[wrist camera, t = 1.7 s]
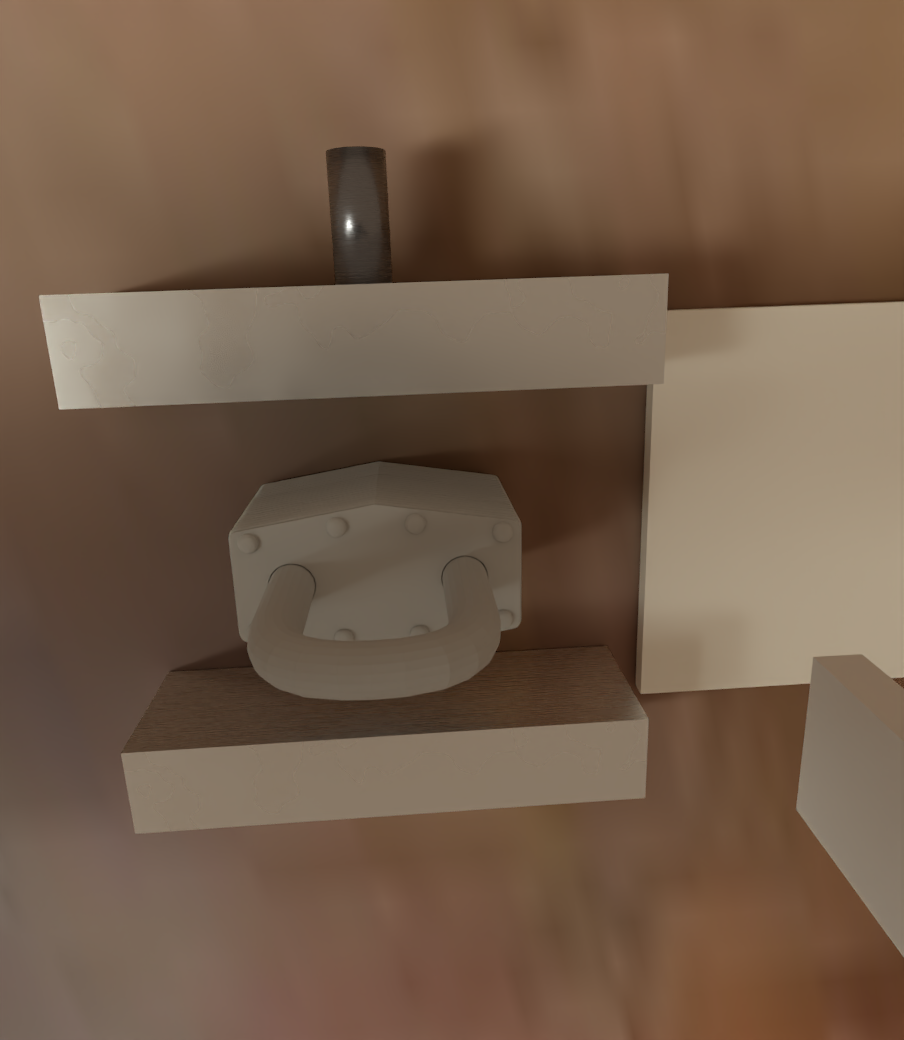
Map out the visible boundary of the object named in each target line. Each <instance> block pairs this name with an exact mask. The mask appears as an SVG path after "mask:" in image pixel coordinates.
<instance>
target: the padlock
mask: <svg viewBox="0 0 904 1040" xmlns="http://www.w3.org/2000/svg"><path fill="white" fill-rule="evenodd" d="M228 539H229V548H230V557H231V566H232V575H233V583H234V592H235V601H236V610H237V619H238V627H239V635H240V637H241V638H242V640H243V641H245V642H248V643H247V652H248V655H249V658H250V660H251V663H252V665H253V667H254V669H255V671H256V672H257V673H258V675H259V676H260V677H262V678H263V679H264V680H266V681H267V682H268V683H270V684H271V685H272V686H274V687H276V688H278V689H279V690H282V691H286V692H289V693H292V694H296V695H299V696H302V697H306V698H318V699H330V700H342V701H343V700H378V699H389V698H400V697H408V696H413V695H419V694H424V693H429V692H434V691H439V690H444V689H446V688H449V687H451V686H454V685H456V684H459V683H461V682H464V681H466V680H469V679H470V678H471V677H473V676H474V675H475V674H477V673H478V672H479V671H480V670H482V669H483V668H484V667H485V666H487V665H488V664H489V663H490V661H491V659H492V657H493V656H494V654H495V652H496V650H497V648H498V646H499V644H500V637H501V631H504V630H509V629H514V628H516V627H518V626H519V624H520V622H521V584H522V524H521V521H520V519H519V517H518V515H517V514H516V512H515V510H514V508H513V506H512V504H511V502H510V500H509V498H508V496H507V494H506V492H505V490H504V488H503V486H502V484H501V482H500V480H499V478H498V477H497V476H496V475H490V474H481V473H473V472H464V471H456V470H447V469H439V468H430V467H422V466H414V465H405V464H397V463H388V462H380V461H379V462H374V463H369V464H364V465H359V466H354V467H349V468H343V469H338V470H333V471H328V472H323V473H318V474H313V475H308V476H303V477H298V478H293V479H288V480H283V481H278V482H273V483H268V484H263V485H262V486H261V487H260V488H259V490H258V491H257V493H256V494H255V496H254V497H253V499H252V500H251V501H250V503H249V505H248V506H247V507H246V509H245V511H244V512H243V514H242V515H241V516H240V518H239V519H238V521H237V522H236V524H235V526H234V527H233V529H231V531H230V533H229V535H228Z"/></svg>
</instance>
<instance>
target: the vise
mask: <svg viewBox="0 0 904 1040" xmlns="http://www.w3.org/2000/svg"><path fill="white" fill-rule="evenodd" d="M326 161H327V175H328V189H329V202H330V216H331V230H332V243H333V257H334V270H335V284H336V285H322V286H294V287H265V288H236V289H207V290H179V291H150V292H121V293H93V294H64V295H39V300H40V306H41V311H42V317H43V323H44V328H45V334H46V339H47V345H48V350H49V356H50V362H51V367H52V373H53V378H54V384H55V389H56V395H57V401H58V406H59V410H60V409H84V408H107V407H131V406H154V405H178V404H202V403H225V402H249V401H273V400H296V399H320V398H343V397H367V396H391V395H414V394H438V393H461V392H485V391H509V390H532V389H556V388H580V387H603V386H627V385H650V384H664V368H665V345H666V323H667V301H668V278H669V273H666V274H638V275H609V276H580V277H552V278H523V279H494V280H466V281H437V282H408V283H392V266H391V248H390V229H389V210H388V191H387V172H386V153H385V150H384V149H381V148H375V147H341V148H334V149H330V150H327V151H326ZM648 725H649V719H648V717H647V715H646V713H645V712H644V710H643V708H642V706H641V705H640V703H639V701H638V699H637V698H636V696H635V694H634V692H633V691H632V689H631V687H630V685H629V684H628V682H627V680H626V679H625V677H624V675H623V673H622V672H621V670H620V668H619V666H618V665H617V663H616V661H615V659H614V658H613V656H612V654H611V652H610V651H609V649H608V647H607V646H593V647H576V648H559V649H543V650H526V651H509V652H495V654H494V656H493V657H492V659H491V661H490V663H489V664H488V665H487V666H485V667H484V668H483V669H482V670H480V671H479V672H478V673H477V674H475V675H474V676H473V677H471V678H470V679H469V680H466V681H464V682H461V683H459V684H456V685H454V686H451V687H449V688H446V689H444V690H439V691H434V692H429V693H424V694H419V695H413V696H408V697H400V698H389V699H378V700H343V701H342V700H330V699H318V698H306V697H302V696H299V695H296V694H292V693H289V692H286V691H282V690H279V689H278V688H276V687H274V686H272V685H271V684H270V683H268V682H267V681H266V680H264V679H263V678H262V677H260V676H259V675H258V673H257V672H256V671H255V669H254V667H242V668H225V669H208V670H192V671H175V672H169V673H168V674H167V676H166V678H165V679H164V681H163V683H162V685H161V686H160V688H159V690H158V691H157V693H156V695H155V696H154V698H153V700H152V701H151V703H150V705H149V707H148V708H147V710H146V712H145V713H144V715H143V717H142V718H141V720H140V722H139V723H138V725H137V727H136V729H135V730H134V732H133V734H132V735H131V737H130V739H129V740H128V742H127V744H126V745H125V747H124V749H123V751H122V752H121V757H122V763H123V769H124V774H125V780H126V785H127V791H128V796H129V802H130V808H131V813H132V819H133V824H134V830H135V834H141V833H155V832H169V831H183V830H198V829H212V828H226V827H240V826H254V825H269V824H283V823H297V822H311V821H326V820H340V819H354V818H368V817H382V816H397V815H411V814H425V813H439V812H454V811H468V810H482V809H496V808H510V807H525V806H539V805H553V804H567V803H581V802H596V801H610V800H624V799H638V798H645V792H646V770H647V748H648Z"/></svg>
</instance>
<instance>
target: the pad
mask: <svg viewBox="0 0 904 1040" xmlns="http://www.w3.org/2000/svg"><path fill="white" fill-rule="evenodd" d="M857 654H863V655H864V656H865V657H866V658H867V659H869V660H870V661H871V662H872V663H873V664H875V665H876V666H877V667H878V668H879V669H881V670H882V671H883V672H884V673H885V674H887V675H888V676H889V677H890V678H903V677H904V301H894V302H867V303H841V304H814V305H787V306H760V307H733V308H707V309H680V310H667V323H666V345H665V368H664V384H650V385H647V396H646V422H645V448H644V474H643V500H642V526H641V552H640V578H639V604H638V630H637V656H636V682H635V685H636V687H637V689H638V690H639V692H640V694H651V693H666V692H682V691H698V690H714V689H730V688H745V687H761V686H777V685H793V684H809V683H810V681H811V673H812V664H813V657H820V656H838V655H857Z"/></svg>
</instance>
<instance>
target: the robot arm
mask: <svg viewBox="0 0 904 1040" xmlns="http://www.w3.org/2000/svg"><path fill="white" fill-rule="evenodd" d="M796 810H797V811H798V813H799V814H800V815H801V817H802V818H803V820H804V821H805V822H806V824H807V825H808V826H809V828H810V829H811V831H812V832H813V833H814V835H815V836H816V837H817V839H818V840H819V842H820V843H821V844H822V846H823V847H824V848H825V850H826V851H827V853H828V854H829V855H830V857H831V858H832V859H833V861H834V862H835V864H836V865H837V866H838V868H839V869H840V870H841V872H842V873H843V875H844V876H845V877H846V879H847V880H848V881H849V883H850V884H851V886H852V887H853V888H854V890H855V891H856V892H857V894H858V895H859V897H860V898H861V899H862V901H863V902H864V903H865V905H866V906H867V908H868V909H869V910H870V912H871V913H872V914H873V916H874V917H875V919H876V920H877V921H878V923H879V924H880V926H881V927H882V928H883V930H884V931H885V932H886V934H887V935H888V937H889V938H890V939H891V941H892V942H893V943H894V945H895V946H896V948H897V949H898V950H899V952H900V953H901V954H902V956H903V957H904V688H902V687H901V686H900V685H899V684H897V683H896V682H895V681H894V680H893V679H891V678H890V677H889V676H888V675H887V674H885V673H884V672H883V671H882V670H881V669H879V668H878V667H877V666H876V665H875V664H873V663H872V662H871V661H870V660H869V659H867V658H866V657H865V656H864V655H863V654H857V655H838V656H820V657H813V664H812V673H811V681H810V690H809V699H808V708H807V717H806V726H805V735H804V743H803V752H802V761H801V770H800V779H799V788H798V797H797V805H796Z"/></svg>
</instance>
